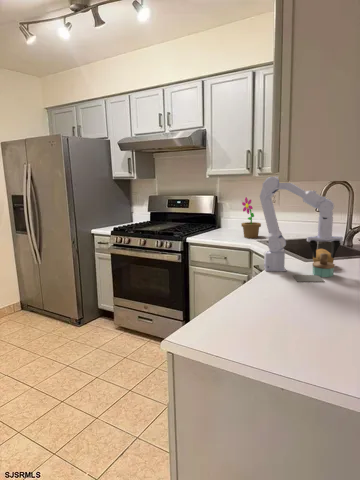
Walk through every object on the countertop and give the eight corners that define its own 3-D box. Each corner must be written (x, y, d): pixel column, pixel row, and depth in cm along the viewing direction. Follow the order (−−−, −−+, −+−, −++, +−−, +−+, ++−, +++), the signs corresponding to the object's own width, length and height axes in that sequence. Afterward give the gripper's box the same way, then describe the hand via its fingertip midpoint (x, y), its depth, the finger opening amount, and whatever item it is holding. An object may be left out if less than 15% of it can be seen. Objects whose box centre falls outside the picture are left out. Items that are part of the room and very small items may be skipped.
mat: (297, 281, 137) (297, 281, 137) (292, 275, 145) (292, 274, 145) (324, 282, 135) (324, 281, 135) (318, 275, 144) (318, 275, 144)
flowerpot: (237, 236, 247) (237, 197, 241) (252, 234, 253) (252, 196, 248) (249, 239, 234) (249, 197, 229) (264, 237, 241) (265, 196, 235)
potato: (315, 270, 153) (316, 253, 152) (309, 262, 167) (310, 247, 165) (337, 270, 151) (338, 253, 150) (329, 262, 165) (330, 247, 163)
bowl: (315, 276, 143) (316, 268, 142) (311, 271, 150) (311, 263, 150) (335, 277, 142) (335, 268, 141) (329, 272, 149) (329, 263, 149)
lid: (314, 268, 142) (315, 256, 141) (311, 263, 150) (311, 251, 149) (336, 269, 140) (337, 256, 139) (331, 263, 148) (332, 252, 147)
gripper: (310, 228, 139) (308, 259, 142) (346, 228, 137) (343, 259, 140) (306, 226, 146) (304, 255, 149) (340, 226, 144) (338, 255, 147)
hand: (323, 257), depth 145 cm, fingers open, 7 cm apart
